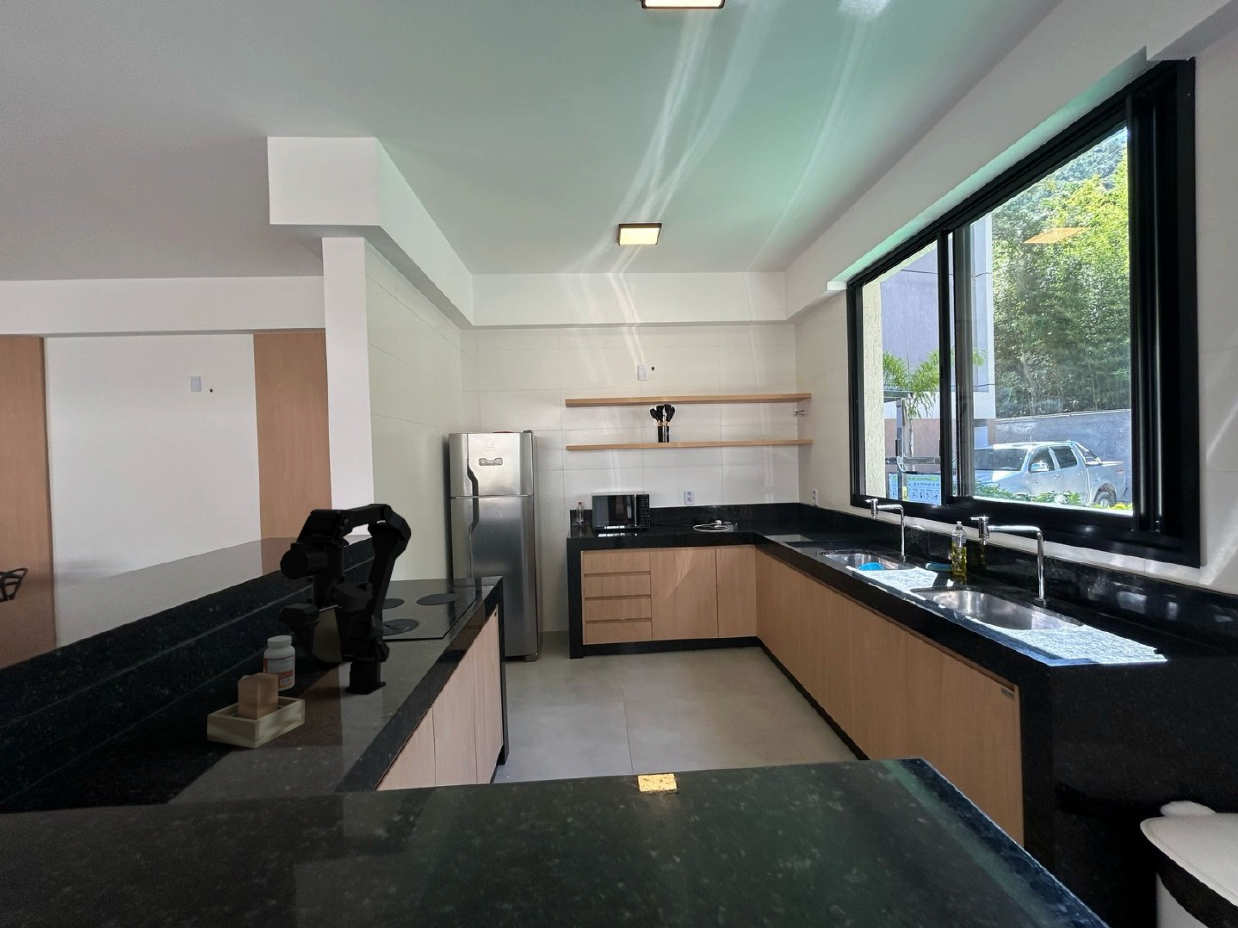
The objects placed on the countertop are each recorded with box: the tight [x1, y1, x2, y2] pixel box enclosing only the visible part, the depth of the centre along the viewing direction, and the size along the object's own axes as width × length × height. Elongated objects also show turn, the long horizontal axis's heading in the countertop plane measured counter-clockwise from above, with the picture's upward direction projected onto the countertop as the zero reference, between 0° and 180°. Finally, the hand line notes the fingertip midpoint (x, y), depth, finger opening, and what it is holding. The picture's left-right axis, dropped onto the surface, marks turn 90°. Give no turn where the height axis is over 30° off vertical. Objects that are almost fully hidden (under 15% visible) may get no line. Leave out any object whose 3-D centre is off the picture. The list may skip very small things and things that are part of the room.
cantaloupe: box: [312, 609, 343, 664], centre depth 151 cm, size 14×14×15 cm
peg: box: [237, 672, 279, 720], centre depth 111 cm, size 4×4×9 cm
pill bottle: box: [262, 634, 296, 692], centre depth 133 cm, size 6×6×11 cm
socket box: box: [206, 695, 306, 749], centre depth 111 cm, size 11×11×4 cm
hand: (326, 648), depth 119 cm, fingers open, 9 cm apart
